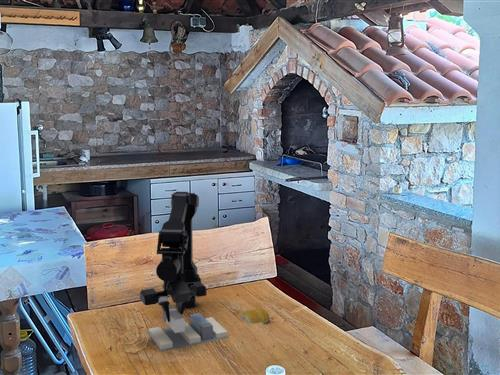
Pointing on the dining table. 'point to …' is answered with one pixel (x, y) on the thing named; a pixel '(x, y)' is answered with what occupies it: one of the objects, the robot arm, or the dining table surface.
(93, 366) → the dining table surface
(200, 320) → the grey rectangular bar
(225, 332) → the rack
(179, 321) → the grey white bar
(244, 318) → the bread roll
